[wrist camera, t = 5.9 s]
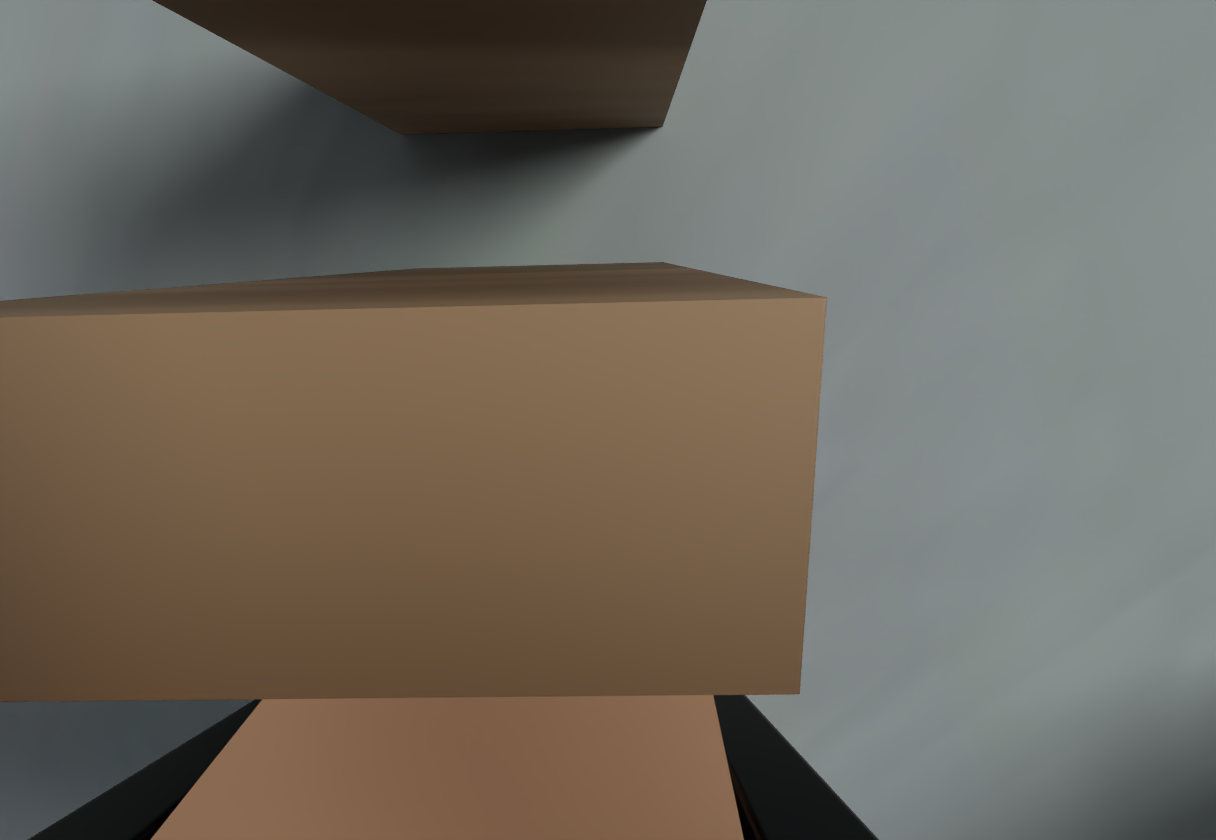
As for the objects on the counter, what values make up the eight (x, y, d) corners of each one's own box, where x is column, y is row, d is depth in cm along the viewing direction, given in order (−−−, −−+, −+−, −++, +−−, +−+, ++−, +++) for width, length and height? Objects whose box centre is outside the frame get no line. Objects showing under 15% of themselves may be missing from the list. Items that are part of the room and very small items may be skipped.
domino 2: (415, 268, 12) (-304, 325, 3) (662, 262, 12) (826, 297, 3) (426, 366, 13) (-146, 701, 3) (662, 360, 13) (799, 693, 3)
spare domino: (411, 512, 12) (-601, 1781, 2) (673, 508, 12) (960, 1848, 2) (421, 605, 12) (-340, 1971, 2) (673, 602, 12) (890, 2016, 2)
